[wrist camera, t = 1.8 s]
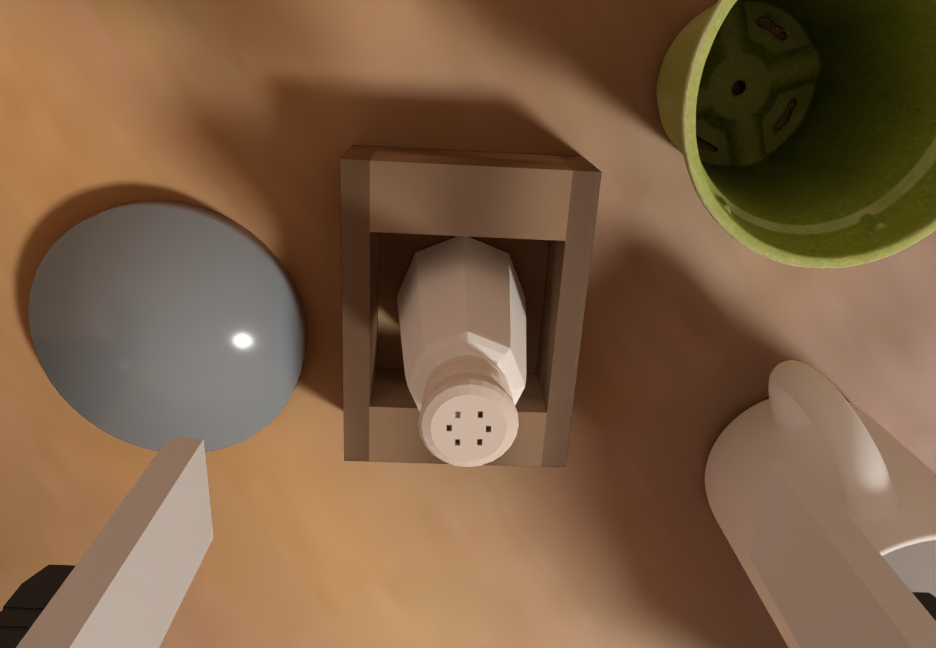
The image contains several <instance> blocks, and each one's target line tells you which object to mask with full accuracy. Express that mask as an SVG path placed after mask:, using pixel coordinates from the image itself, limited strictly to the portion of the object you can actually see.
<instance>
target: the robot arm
mask: <svg viewBox="0 0 936 648" xmlns="http://www.w3.org/2000/svg"><path fill="white" fill-rule="evenodd" d="M212 539H213V530H212V519H211V509H210V499H209V489H208V479H207V468H206V458H205V448H204V439H194V438H169V439H168V440H167V442H166V443H165V444H164V446H163V447H162V448H161V450H160V451H159V453H158V454H157V455H156V457H155V458H154V459H153V461H152V462H151V464H150V465H149V466H148V468H147V469H146V470H145V472H144V473H143V474H142V476H141V477H140V479H139V480H138V481H137V483H136V484H135V485H134V487H133V488H132V490H131V491H130V492H129V494H128V495H127V496H126V498H125V499H124V500H123V502H122V503H121V505H120V506H119V507H118V509H117V510H116V511H115V513H114V514H113V516H112V517H111V518H110V520H109V521H108V522H107V524H106V525H105V526H104V528H103V529H102V531H101V532H100V533H99V535H98V536H97V537H96V539H95V540H94V541H93V543H92V544H91V546H90V547H89V548H88V550H87V551H86V552H85V554H84V555H83V557H82V558H81V559H80V561H79V562H78V563H77V565H76V566H71V565H48V566H46V567H45V568H43V569H42V570H41V571H39V572H38V573H36V574H35V575H34V576H32V577H31V578H29V579H28V580H27V581H25V582H24V583H22V584H21V585H20V587H19V588H18V589H17V590H16V592H15V593H14V594H13V595H12V597H11V598H10V599H9V600H8V602H7V603H6V604H5V605H4V606H3V610H2V611H0V648H159V647H160V645H161V643H162V641H163V639H164V637H165V635H166V633H167V631H168V628H169V626H170V624H171V622H172V620H173V618H174V616H175V614H176V612H177V610H178V608H179V606H180V604H181V602H182V600H183V598H184V596H185V594H186V592H187V590H188V588H189V586H190V584H191V582H192V580H193V578H194V576H195V574H196V572H197V570H198V568H199V566H200V564H201V562H202V560H203V558H204V556H205V554H206V552H207V550H208V548H209V546H210V544H211V542H212ZM749 558H750V560H751V561H752V563H753V565H754V567H755V568H756V570H757V572H758V574H759V576H760V577H761V579H762V581H763V583H764V584H765V586H766V588H767V590H768V591H769V593H770V595H771V597H772V599H773V600H774V602H775V604H776V606H777V607H778V609H779V611H780V613H781V614H782V616H783V618H784V620H785V622H786V623H787V625H788V627H789V629H790V630H791V632H792V634H793V636H794V637H795V639H796V641H797V643H798V645H799V646H800V648H936V597H935V596H933V595H932V594H930V593H927V592H911V591H910V589H909V588H908V587H907V586H906V584H905V583H904V582H903V581H902V580H901V578H900V577H899V576H898V575H897V574H896V572H895V571H894V570H893V569H892V568H891V566H890V565H889V564H888V563H887V561H886V560H885V559H884V558H883V557H882V555H881V554H880V553H879V552H878V551H877V549H876V548H875V547H874V546H873V545H872V543H871V542H870V541H869V540H868V538H867V537H866V536H865V535H864V534H863V532H862V531H861V530H860V529H859V528H858V526H857V525H856V524H855V523H854V522H853V520H852V519H851V518H850V517H849V515H848V514H847V513H846V512H845V511H844V509H843V508H842V507H841V506H840V505H839V503H838V502H837V501H836V500H835V499H834V497H833V496H832V495H831V494H830V492H829V491H828V490H827V489H826V488H825V486H824V485H823V484H822V483H821V482H820V480H819V479H818V478H817V477H816V475H815V474H814V473H813V472H812V471H811V469H810V468H809V467H808V466H807V465H806V463H803V462H778V461H772V465H771V469H770V473H769V477H768V481H767V485H766V490H765V494H764V498H763V502H762V506H761V510H760V514H759V518H758V522H757V526H756V530H755V534H754V538H753V542H752V546H751V550H750V554H749Z"/></svg>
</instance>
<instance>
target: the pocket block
mask: <svg viewBox="0 0 936 648" xmlns="http://www.w3.org/2000/svg"><path fill="white" fill-rule="evenodd" d="M340 170H341V248H342V326H343V404H344V461H370V462H402V463H435V464H449V463H446V462H444V461H442V460H440V459H439V458H437V457H436V456H434V455H433V454H432V453H431V452H430V451H429V450H428V448H427V447H426V446H425V445H424V442H423V440H422V438H421V436H420V432H419V425H418V422H419V415H420V412H419V410H418V408H417V405H416V403H415V401H414V399H413V397H412V395H411V393H410V391H409V388H408V386H407V382H406V377H405V371H404V369H380V368H377V360H378V232H381V233H403V234H425V235H447V236H470V237H492V238H514V239H536V240H550V243H549V254H548V264H547V274H546V284H545V294H544V304H543V314H542V324H541V334H540V344H539V354H538V365H537V374H526V384H525V388H524V390H523V392H522V394H521V396H520V398H519V399H518V401H517V403H516V405H515V407H516V409H517V412H518V422H519V426H518V430H517V435H516V437H515V439H514V441H513V443H512V445H511V447H510V448H509V449H508V450H507V451H506V452H505V453H504V454H503V455H502V456H500V457H499V458H497V459H495V460H494V461H492V462H489V463H486V464H484V465H501V466H533V467H566V459H567V451H568V443H569V434H570V426H571V418H572V410H573V402H574V394H575V385H576V377H577V369H578V361H579V353H580V345H581V336H582V328H583V320H584V312H585V304H586V296H587V287H588V279H589V271H590V263H591V255H592V247H593V238H594V230H595V222H596V214H597V206H598V198H599V189H600V181H601V173H602V172H601V171H600V170H599V169H597V168H596V167H595V166H594V165H593V164H591V163H590V162H589V161H588V160H586V159H585V158H584V157H574V156H554V155H535V154H515V153H495V152H476V151H456V150H436V149H417V148H397V147H377V146H358V145H353V146H352V147H351V148H350V149H349V150H348V151H347V152H346V153H345V155H344V156H343V157H342V158H341V159H340Z"/></svg>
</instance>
